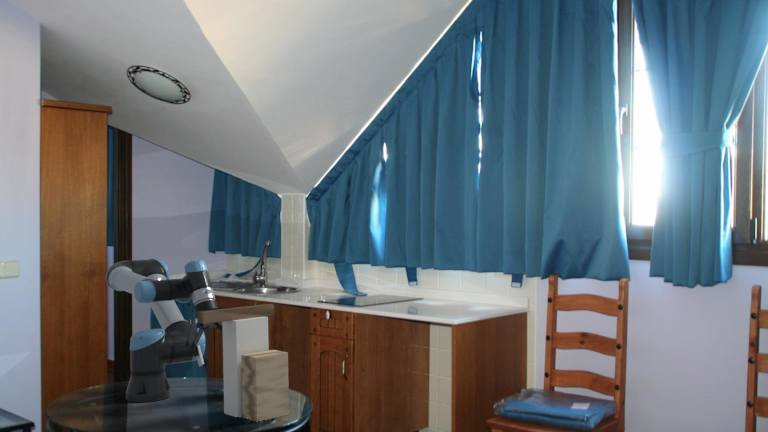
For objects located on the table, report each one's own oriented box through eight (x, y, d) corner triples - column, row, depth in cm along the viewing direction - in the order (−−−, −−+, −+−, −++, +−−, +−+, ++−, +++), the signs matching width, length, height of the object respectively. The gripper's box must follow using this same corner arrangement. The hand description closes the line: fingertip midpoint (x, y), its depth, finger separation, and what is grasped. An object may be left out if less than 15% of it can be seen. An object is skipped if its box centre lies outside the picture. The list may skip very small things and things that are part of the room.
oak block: (242, 417, 226) (241, 354, 227) (274, 410, 235) (273, 349, 235) (257, 422, 221) (255, 357, 221) (289, 414, 229) (287, 352, 229)
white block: (224, 413, 232) (222, 319, 233) (255, 406, 241) (254, 315, 241) (237, 417, 226) (236, 321, 227) (269, 410, 235) (268, 317, 235)
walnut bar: (197, 323, 224) (197, 311, 224) (268, 314, 242) (267, 304, 242) (203, 324, 222) (203, 312, 222) (274, 315, 240) (273, 304, 240)
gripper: (174, 303, 241) (190, 364, 235) (241, 295, 258) (257, 352, 251) (166, 311, 247) (181, 371, 240) (232, 302, 263) (248, 359, 256)
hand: (220, 361), depth 245 cm, fingers open, 13 cm apart
